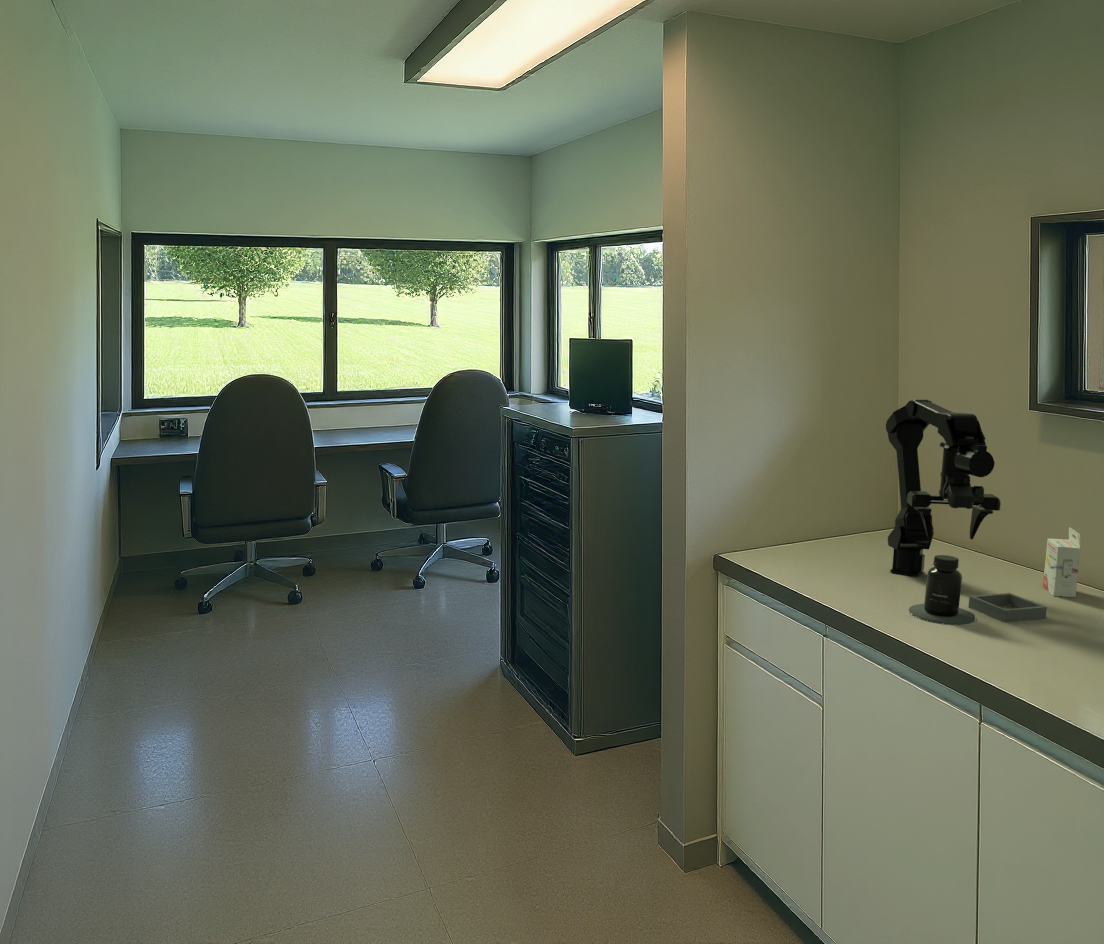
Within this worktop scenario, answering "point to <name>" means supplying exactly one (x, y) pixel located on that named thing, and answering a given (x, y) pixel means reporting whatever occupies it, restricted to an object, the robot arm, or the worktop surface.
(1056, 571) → the ink cartridge box
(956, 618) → the rubber mat
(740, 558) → the worktop surface
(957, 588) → the supplement bottle
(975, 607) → the square grey tray
